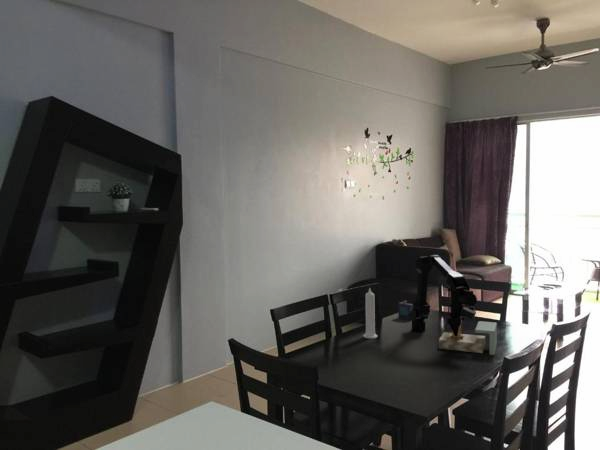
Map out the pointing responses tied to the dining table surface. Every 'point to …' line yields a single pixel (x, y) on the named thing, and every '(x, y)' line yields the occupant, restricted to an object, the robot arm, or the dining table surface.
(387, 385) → the dining table surface
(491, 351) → the upright pale grey block
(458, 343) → the socket block
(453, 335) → the peg
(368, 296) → the candle
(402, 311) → the flask
